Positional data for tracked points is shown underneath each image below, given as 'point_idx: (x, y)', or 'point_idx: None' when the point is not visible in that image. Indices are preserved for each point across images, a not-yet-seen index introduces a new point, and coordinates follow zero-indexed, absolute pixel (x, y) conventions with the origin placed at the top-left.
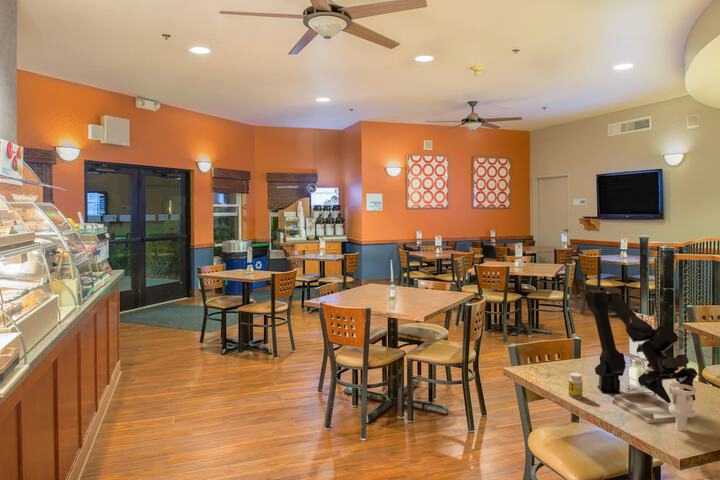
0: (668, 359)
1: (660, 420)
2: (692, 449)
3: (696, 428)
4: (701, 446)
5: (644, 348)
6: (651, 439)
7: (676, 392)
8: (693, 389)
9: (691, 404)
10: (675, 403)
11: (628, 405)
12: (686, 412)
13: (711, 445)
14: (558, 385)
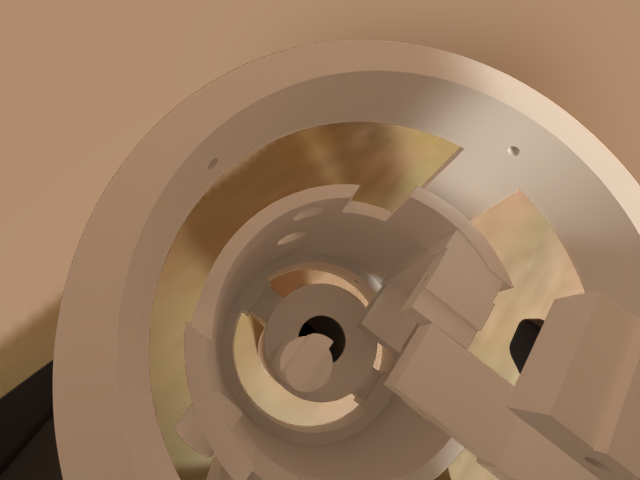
0: None
1: None
2: (415, 134)
3: (167, 340)
4: (347, 144)
5: None
6: (549, 265)
7: (597, 242)
8: (174, 199)
9: (293, 224)
10: (322, 452)
11: None
12: (341, 251)
13: (286, 139)
14: None
